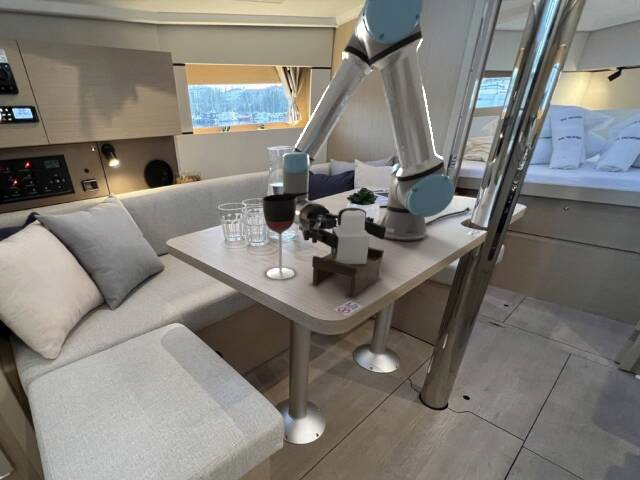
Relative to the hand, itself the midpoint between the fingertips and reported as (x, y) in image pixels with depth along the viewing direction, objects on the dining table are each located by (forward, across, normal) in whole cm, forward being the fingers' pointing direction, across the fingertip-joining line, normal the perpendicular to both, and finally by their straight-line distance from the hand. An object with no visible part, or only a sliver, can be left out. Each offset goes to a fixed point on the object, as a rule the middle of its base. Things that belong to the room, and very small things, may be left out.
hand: (360, 237), depth 71 cm
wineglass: (-16, +12, -13) cm, 24 cm away
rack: (-4, 0, -12) cm, 13 cm away
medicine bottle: (-4, 0, -7) cm, 8 cm away
